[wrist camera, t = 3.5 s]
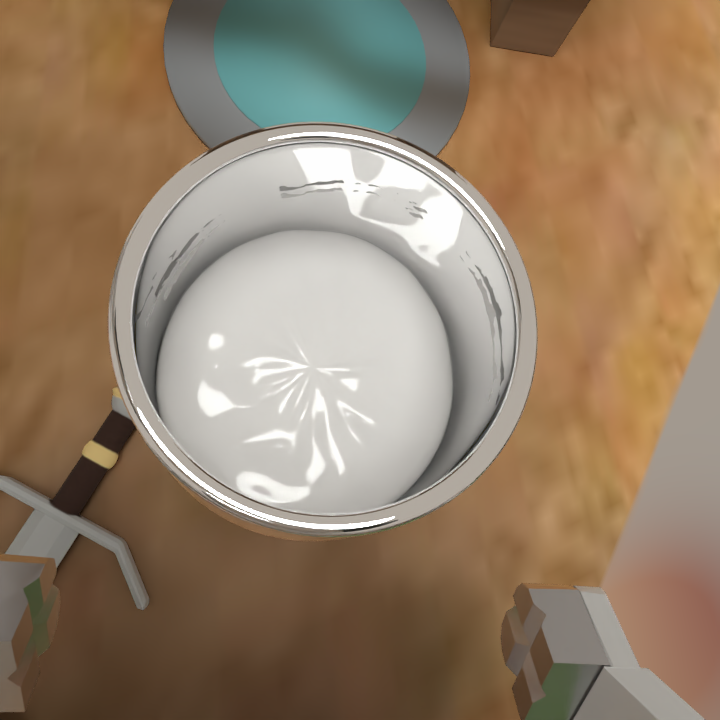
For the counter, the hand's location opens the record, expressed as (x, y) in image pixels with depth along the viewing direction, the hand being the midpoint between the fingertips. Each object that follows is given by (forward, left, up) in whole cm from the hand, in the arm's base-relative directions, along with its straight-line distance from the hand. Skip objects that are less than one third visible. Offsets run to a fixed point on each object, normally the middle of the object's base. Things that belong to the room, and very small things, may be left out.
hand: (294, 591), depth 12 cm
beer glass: (-3, +3, -12) cm, 13 cm away
